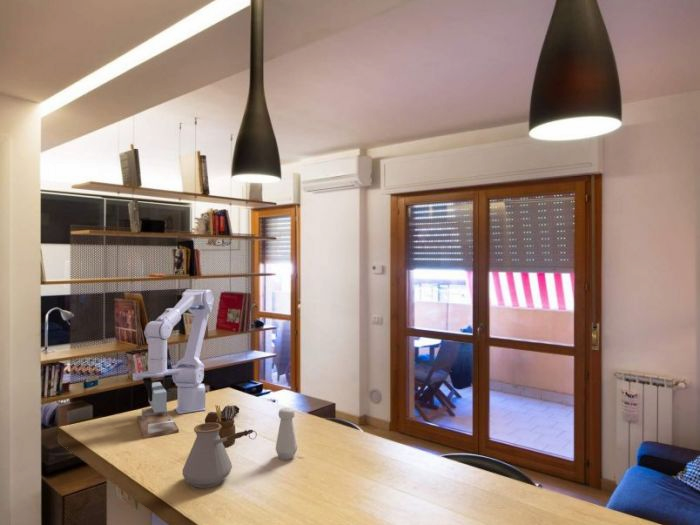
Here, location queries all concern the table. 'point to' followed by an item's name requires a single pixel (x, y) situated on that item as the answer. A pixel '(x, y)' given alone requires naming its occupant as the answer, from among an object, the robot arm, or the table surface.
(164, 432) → the frame
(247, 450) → the table surface
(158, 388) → the slat
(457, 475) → the table surface
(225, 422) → the utensil holder
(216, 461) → the coffee pot
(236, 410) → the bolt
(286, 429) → the salt shaker
